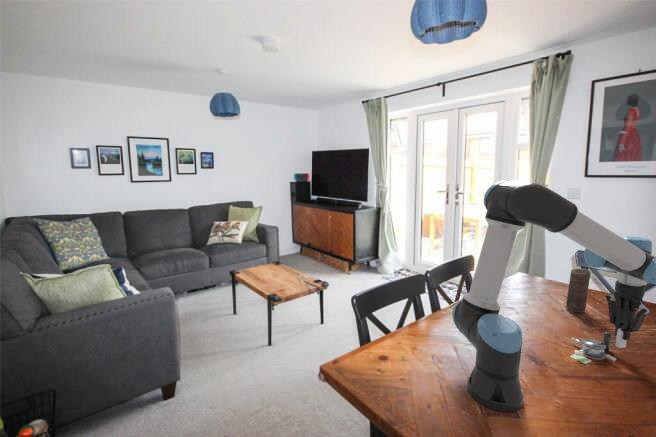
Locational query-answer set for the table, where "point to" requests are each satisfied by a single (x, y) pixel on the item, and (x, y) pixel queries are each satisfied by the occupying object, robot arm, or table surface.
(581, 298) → the candle
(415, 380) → the table surface
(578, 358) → the stand plate
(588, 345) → the cam capstan
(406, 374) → the table surface
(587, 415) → the table surface
